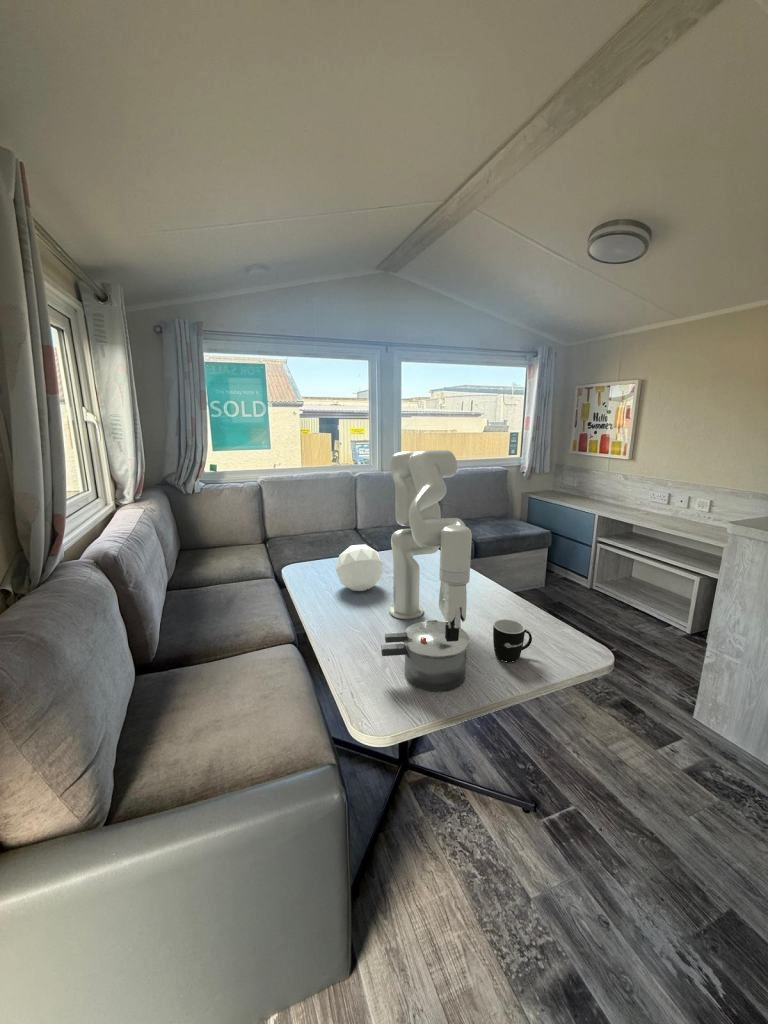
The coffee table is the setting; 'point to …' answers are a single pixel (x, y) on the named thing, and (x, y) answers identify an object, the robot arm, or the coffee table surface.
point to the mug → (509, 639)
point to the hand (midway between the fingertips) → (451, 639)
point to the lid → (430, 640)
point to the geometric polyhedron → (359, 567)
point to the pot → (430, 669)
